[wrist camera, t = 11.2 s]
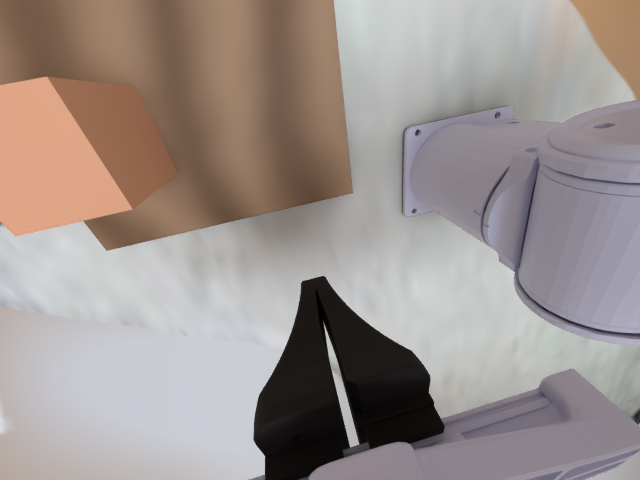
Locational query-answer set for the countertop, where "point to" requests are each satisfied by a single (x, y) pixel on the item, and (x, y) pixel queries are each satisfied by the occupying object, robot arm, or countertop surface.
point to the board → (203, 98)
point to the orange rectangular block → (75, 152)
